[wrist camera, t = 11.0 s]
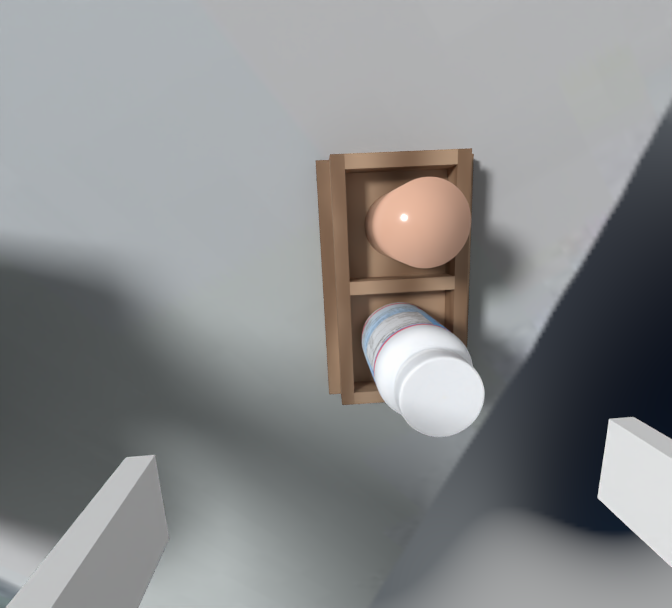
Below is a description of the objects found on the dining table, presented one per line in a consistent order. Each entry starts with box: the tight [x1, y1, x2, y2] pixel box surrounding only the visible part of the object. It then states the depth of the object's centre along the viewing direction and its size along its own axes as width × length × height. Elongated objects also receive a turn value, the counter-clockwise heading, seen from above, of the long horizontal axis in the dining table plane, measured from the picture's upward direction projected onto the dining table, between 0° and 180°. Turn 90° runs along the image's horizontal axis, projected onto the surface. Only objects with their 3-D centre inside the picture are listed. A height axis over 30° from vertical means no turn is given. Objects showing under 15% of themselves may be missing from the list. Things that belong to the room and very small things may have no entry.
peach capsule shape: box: [364, 177, 471, 268], centre depth 23 cm, size 5×5×8 cm
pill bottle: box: [361, 302, 485, 437], centre depth 24 cm, size 6×6×11 cm
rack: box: [316, 148, 474, 405], centre depth 28 cm, size 12×19×3 cm, turn 3°
